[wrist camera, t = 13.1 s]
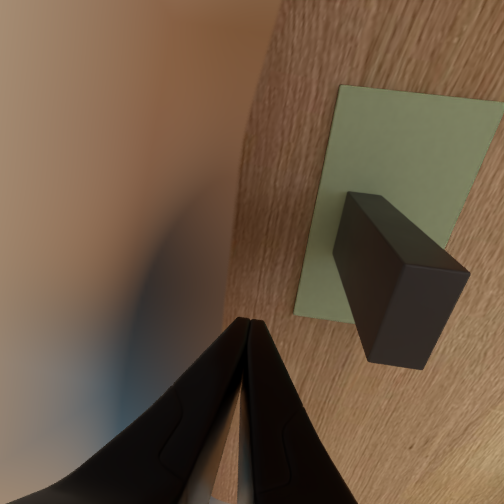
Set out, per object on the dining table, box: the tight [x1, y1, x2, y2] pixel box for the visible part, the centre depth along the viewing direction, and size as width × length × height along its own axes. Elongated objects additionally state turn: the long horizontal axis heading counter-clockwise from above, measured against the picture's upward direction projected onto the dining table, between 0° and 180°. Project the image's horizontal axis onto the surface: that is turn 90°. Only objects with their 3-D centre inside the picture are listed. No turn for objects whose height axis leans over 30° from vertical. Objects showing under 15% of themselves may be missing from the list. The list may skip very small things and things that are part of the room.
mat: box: [293, 85, 504, 324], centre depth 20 cm, size 16×9×1 cm, turn 174°
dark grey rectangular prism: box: [332, 191, 470, 370], centre depth 15 cm, size 2×4×10 cm, turn 174°
